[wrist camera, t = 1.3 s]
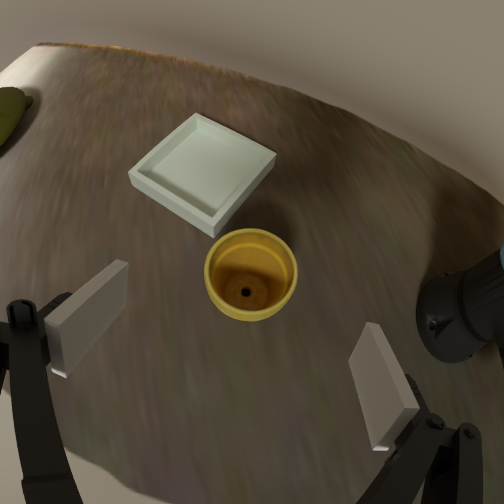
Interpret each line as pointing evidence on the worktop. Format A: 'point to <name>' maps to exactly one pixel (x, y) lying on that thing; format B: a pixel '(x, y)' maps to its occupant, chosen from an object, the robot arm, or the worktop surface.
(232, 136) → the tray
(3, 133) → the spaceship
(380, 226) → the worktop surface
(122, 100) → the worktop surface
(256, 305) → the plant pot
